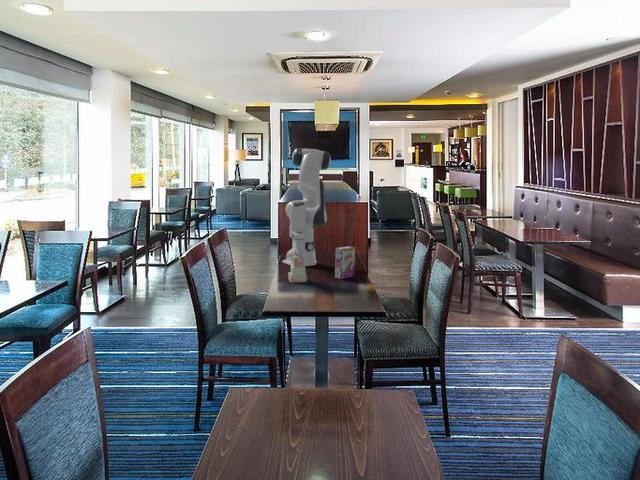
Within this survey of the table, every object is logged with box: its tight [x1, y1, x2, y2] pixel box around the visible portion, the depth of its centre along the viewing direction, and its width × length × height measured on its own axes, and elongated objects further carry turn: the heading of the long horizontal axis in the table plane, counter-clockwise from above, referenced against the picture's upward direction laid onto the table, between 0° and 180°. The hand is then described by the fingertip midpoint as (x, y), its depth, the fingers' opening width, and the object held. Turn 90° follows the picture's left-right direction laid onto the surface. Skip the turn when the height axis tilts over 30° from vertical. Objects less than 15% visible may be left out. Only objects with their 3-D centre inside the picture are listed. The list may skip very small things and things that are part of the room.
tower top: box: [290, 265, 306, 275], centre depth 295 cm, size 7×7×4 cm
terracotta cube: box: [293, 256, 303, 267], centre depth 294 cm, size 5×5×5 cm
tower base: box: [287, 271, 308, 283], centre depth 295 cm, size 8×8×4 cm
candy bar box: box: [334, 246, 356, 280], centre depth 302 cm, size 11×5×16 cm, turn 135°
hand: (298, 259), depth 294 cm, fingers open, 8 cm apart
